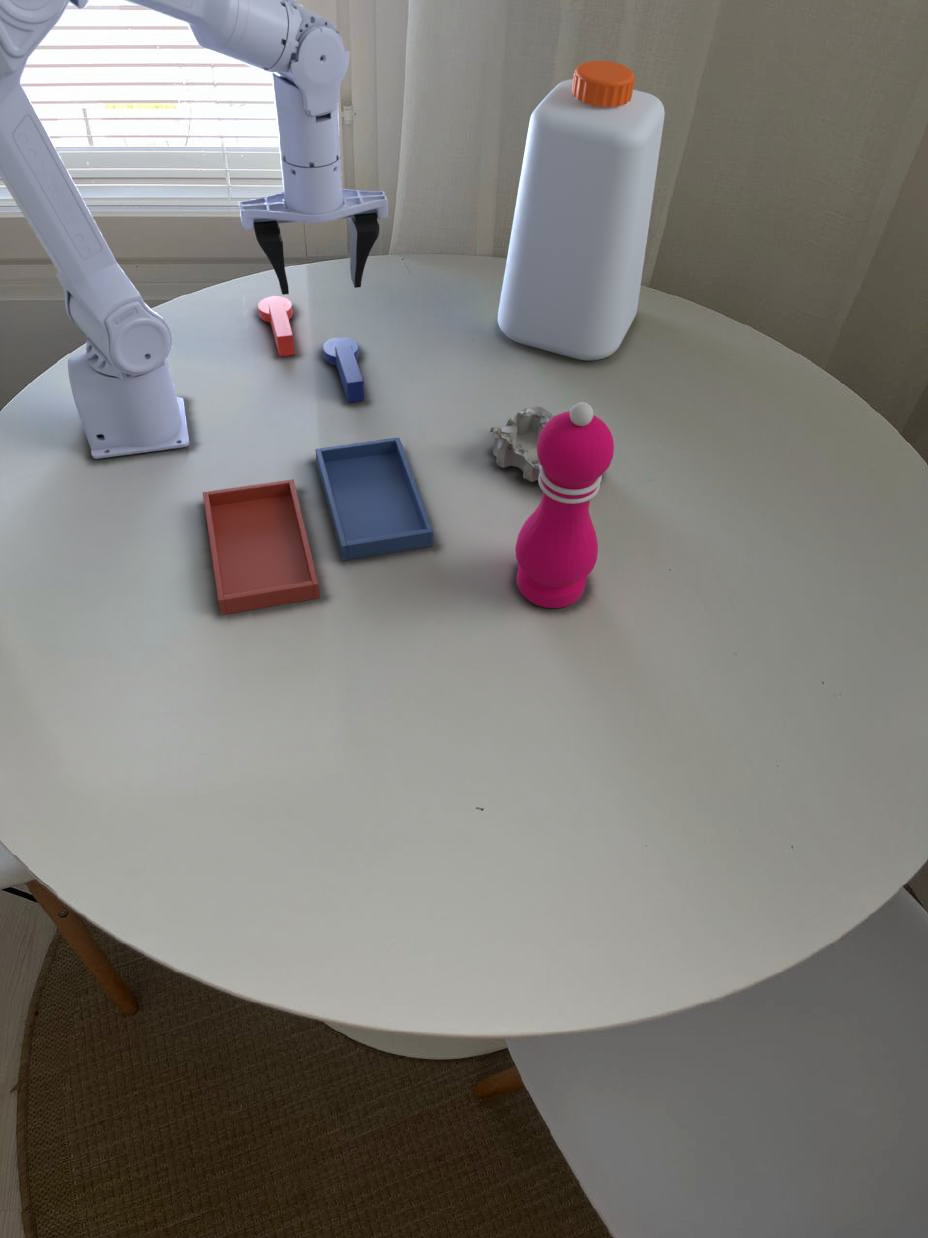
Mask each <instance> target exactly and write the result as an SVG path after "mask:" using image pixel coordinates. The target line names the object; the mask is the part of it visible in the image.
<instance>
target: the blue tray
mask: <svg viewBox="0 0 928 1238" xmlns="http://www.w3.org/2000/svg"><path fill="white" fill-rule="evenodd" d="M315 459H316V465H317V470H318V473H319V478H320V481H321V484H322V489H323V492H324V495H325V500H326V504H327V507H328V511H329V514H330V518H331V522H332V527H333V530H334V533H335V537H336V541H337V545H338V548H339V552H340V556H341V560H342V562H344V561H350V560H351V561H352V560H357V559H362V558H363V559H364V558H368V557H369V558H370V557H375V556H382V555H387V554H394V553H399V552H404V551H411V550H416V549H422V548H429V547H433V546H434V529H433V527H432V524H431V521H430V519H429V516H428V513H427V510H426V508H425V505H424V502H423V499H422V497H421V493H420V491H419V488H418V485H417V483H416V480H415V477H414V475H413V471H412V469H411V466H410V463H409V460H408V458H407V454H406V452H405V450H404V447H403V444H402V441H401V438H400V437H399V436H397V437H391V438H383V439H376V440H368V441H362V442H355V443H354V442H353V443H347V444H346V443H345V444H339V445H332V446H325V447H318V448H315Z"/></svg>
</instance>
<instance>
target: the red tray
mask: <svg viewBox="0 0 928 1238" xmlns="http://www.w3.org/2000/svg"><path fill="white" fill-rule="evenodd" d="M202 497H203V504H204V511H205V519H206V526H207V531H208V533H207V534H208V539H209V546H210V554H211V560H212V567H213V573H214V574H213V575H214V582H215V589H216V594H217V602H218V606H219V611H220V615H221V616H224V615H229V614H235V613H242V612H248V611H253V610H258V609H264V608H271V607H276V606H283V605H287V604H292V603H298V602H304V601H311V600H317V599H320V598H321V596H320V586H319V580H318V577H317V572H316V567H315V564H314V560H313V556H312V551H311V547H310V542H309V538H308V534H307V530H306V526H305V522H304V517H303V514H302V509H301V504H300V500H299V495H298V492H297V488H296V484H295V480H294V479H293V478H290V479H283V480H278V481H270V482H263V483H256V484H251V485H250V484H249V485H244V486H243V485H242V486H237V487H236V486H235V487H230V488H221V489H215V490H207V491H202Z"/></svg>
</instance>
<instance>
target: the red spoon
mask: <svg viewBox="0 0 928 1238" xmlns="http://www.w3.org/2000/svg"><path fill="white" fill-rule="evenodd" d="M257 311H258V316H259V318H260V319H261V320H262V321H264V322H266V323H269V324H270V325H271V329H272V333H273V337H274V341H275V345H276V349H277V353H278V357H280V358H281V357H289V356H295V355H296V352H295V351H296V350H295V341H294V335H293V330H292V326H291V322H290V319H292V318H293V315H294V310H293V303H292V301H291V300H290V299H289V298H287V297H284V296H279V295H271V296H267V297H264V298H262V299H261V300H260V301H259V302H258V303H257Z"/></svg>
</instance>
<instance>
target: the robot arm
mask: <svg viewBox="0 0 928 1238" xmlns="http://www.w3.org/2000/svg"><path fill="white" fill-rule="evenodd" d="M92 1H93V0H0V179H1V181H2V182H3V184H4V186H5V187H6V189H7V190H8V192H9V194H10V196H11V197H12V199H13V200H14V202H15V203H16V206H17V207H18V209H19V210H20V212H21V214H22V215H23V217H24V218H25V220H26V222H27V223H28V224H29V227H30V228H31V230H32V232H33V233H34V235H35V236H36V238H37V240H38V242H39V243H40V244H41V246H42V248H43V250H44V251H45V253H46V254H47V256H48V258H49V260H50V262H52V264H53V266H54V268H55V269H56V271H57V272H56V273H55V277H56V279H57V280H58V282H59V284H60V285H61V288H62V290H63V294H64V307H65V311H66V314H67V316H68V318H69V319H70V321H71V322H72V323H73V324H74V325H75V326H76V327H77V328H78V329H79V330H81V331H82V332H83V334H85V336H86V347H85V351H86V352H85V353H81V354H79V355H75V356H71V357H69V358H68V359H67V372H68V378H69V385H70V389H71V392H72V396H73V397H72V398H73V400H74V403H75V406H76V409H77V412H78V415H79V419H80V421H81V424H82V427H83V431H84V433H85V436H86V439H87V442H88V445H89V448H90V455H91V457H92V458H93V459H95V460H98V459H106V458H107V459H108V458H113V457H121V456H128V455H135V454H137V455H138V454H143V453H150V452H159V451H165V450H173V449H181V448H187V447H188V446H190V437H189V430H188V423H187V417H186V415H187V414H186V408H185V400H184V398H183V397H180V396H177V393H176V388H175V384H174V380H173V376H172V371H171V367H170V363H169V358H168V355H169V353H170V351H171V348H172V344H173V343H172V341H173V335H172V331H171V328H170V325H169V324H168V323H167V322H168V321H166V320H165V318H163V317H162V316H161V315H160V314H159V313H157V312H156V311H154V310H153V309H151V307H150V306H148V304H147V303H146V302H145V300H144V299H143V298H142V296H141V294H140V292H139V291H138V290H137V288H136V287H135V285H134V284H133V282H132V281H131V280H130V278H129V277H128V276H127V275H126V273H125V271H124V270H123V269H122V267H121V266H120V264H119V263H118V262H117V260H116V258H115V256H114V253H112V250H111V249H110V247H109V245H108V243H107V241H106V239H105V237H104V235H103V234H102V232H101V230H100V228H99V226H98V224H97V222H96V220H95V219H94V217H93V215H92V213H91V212H90V210H89V207H88V206H87V204H86V202H85V201H84V198H83V196H82V195H81V193H80V191H79V189H78V187H77V186H76V185H77V184H75V181H74V180H73V178H72V176H71V174H70V173H69V171H68V169H67V167H66V165H65V163H64V161H63V160H62V158H61V156H60V154H59V152H58V150H57V148H56V146H55V145H54V143H53V141H52V139H51V137H50V135H49V133H48V131H47V129H46V127H45V126H44V125H43V122H42V121H41V118H40V117H39V115H38V112H37V111H36V109H35V108H34V105H33V104H32V102H31V100H30V98H29V96H28V94H27V92H26V90H25V89H24V86H23V85H22V83H21V78H22V76H23V73H24V70H25V69H26V65H27V63H28V60H29V57H30V56H31V55H32V54H33V52H35V50H36V49H37V47H39V46H40V44H41V43H42V42H43V40H44V39H45V38H46V37H47V36H48V35H49V33H50V32H51V31H52V30H53V28H54V27H55V26H56V24H57V23H58V22H59V21H60V19H61V18H62V16H63V15H64V13H65V12H66V10H67V8H68V6H69V3H70V4H71V5H73V6H75V7H76V8H77V9H79V10H81V9H84V8H86V7H87V6H88V5H89V4H90V3H92ZM124 1H125V2H128V3H131V4H134V5H136V6H141V7H142V8H146V9H148V10H151V11H153V12H156V13H159V14H162V15H164V16H168V17H171V18H173V19H176V20H179V21H181V22H185V23H186V25H187V27H188V29H189V31H190V33H191V35H192V37H193V39H194V41H195V43H196V44H197V45H198V46H199V47H201V48H202V49H205V50H207V51H210V52H212V53H216V54H218V55H220V56H223V57H225V58H228V59H231V60H233V61H236V62H238V63H241V64H244V65H246V66H249V67H252V68H254V69H256V70H259V71H261V72H265V73H271V78H272V89H273V97H274V109H275V119H276V128H277V138H278V147H279V157H280V168H281V180H282V187H283V192H278V193H274V194H270V195H267V196H262V197H259V198H255V199H249V200H240V201H238V208H239V216H240V222H241V226H242V229H243V230H244V231H245V230H246V231H247V230H253V231H254V234H255V239H256V241H257V243H258V245H259V247H260V248H261V250H262V251H263V253H264V254H265V256H266V257H267V259H268V260H269V263H270V264H271V266H272V268H273V270H274V273H275V275H276V277H277V280H278V283H279V289H280V292H281V295H290V291H289V283H288V278H287V274H286V273H287V272H286V268H285V256H284V255H285V254H284V241H283V238H282V234H281V228H280V225H281V224H292V223H308V224H319V223H320V224H322V223H327V222H331V221H335V220H341V219H342V220H343V219H347V222H348V233H349V243H350V257H349V258H350V259H349V263H350V265H349V267H350V268H349V269H350V279H351V282H352V284H353V287H354V289H357V288H361V287H362V281H363V280H362V279H363V275H364V271H365V267H366V263H367V261H368V257H369V255H370V253H371V251H372V249H373V248H374V247H373V246H374V244H375V243H376V241H377V240H378V238H379V234H380V224H379V221H378V220H383V219H388V218H389V199H388V197H387V195H386V193H385V191H384V190H360V189H349V188H343V175H342V156H341V155H342V153H341V152H342V151H341V135H340V117H339V104H340V103H341V91H340V90H341V84H342V82H343V81H344V78H345V76H346V74H347V71H348V68H349V64H350V57H351V56H350V55H351V54H350V53H351V52H350V50H349V49H347V48H345V44H344V39H343V36H342V33H341V32H340V31H338V27H337V26H336V25H335V23H334V22H332V21H331V20H329V19H327V18H326V17H324V16H322V15H320V14H318V13H316V12H315V11H313V10H311V9H309V8H307V7H306V6H305V5H302V4H300V3H298V0H124Z"/></svg>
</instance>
